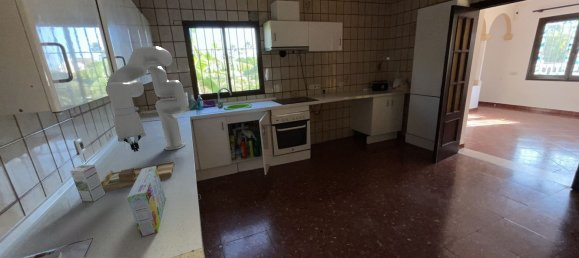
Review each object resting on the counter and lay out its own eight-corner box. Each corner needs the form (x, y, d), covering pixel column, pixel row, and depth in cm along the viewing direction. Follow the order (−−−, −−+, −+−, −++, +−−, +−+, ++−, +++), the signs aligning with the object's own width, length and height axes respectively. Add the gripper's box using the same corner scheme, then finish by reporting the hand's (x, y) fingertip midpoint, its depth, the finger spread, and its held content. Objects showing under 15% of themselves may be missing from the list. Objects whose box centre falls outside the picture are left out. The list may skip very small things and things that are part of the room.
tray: (113, 177, 116) (110, 170, 115) (174, 165, 125) (172, 158, 124) (102, 191, 104) (99, 183, 103) (171, 177, 113) (169, 169, 111)
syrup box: (105, 194, 101) (95, 163, 97) (93, 202, 96) (82, 170, 92) (93, 194, 102) (83, 163, 98) (81, 202, 96) (69, 170, 92)
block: (123, 177, 111) (121, 170, 110) (135, 175, 112) (133, 167, 111) (120, 182, 106) (118, 174, 105) (133, 180, 108) (130, 172, 107)
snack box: (150, 202, 93) (141, 168, 88) (166, 198, 95) (157, 164, 90) (139, 238, 74) (125, 196, 69) (158, 232, 76) (147, 192, 71)
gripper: (143, 107, 108) (152, 144, 114) (103, 113, 100) (115, 153, 105) (146, 109, 103) (155, 148, 108) (103, 116, 94) (116, 158, 99)
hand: (136, 150), depth 106 cm, fingers closed
